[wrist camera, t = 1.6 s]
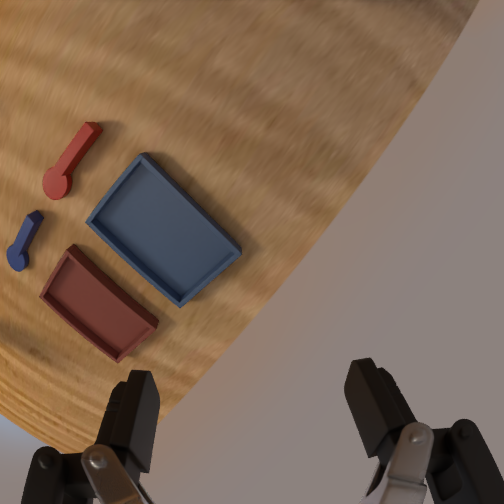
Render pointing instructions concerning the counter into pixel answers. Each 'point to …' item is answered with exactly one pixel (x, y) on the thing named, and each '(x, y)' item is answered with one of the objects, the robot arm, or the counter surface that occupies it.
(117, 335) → the red tray
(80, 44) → the counter surface
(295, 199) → the counter surface
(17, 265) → the blue spoon
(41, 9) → the counter surface
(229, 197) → the counter surface
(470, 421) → the robot arm
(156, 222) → the blue tray
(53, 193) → the red spoon
